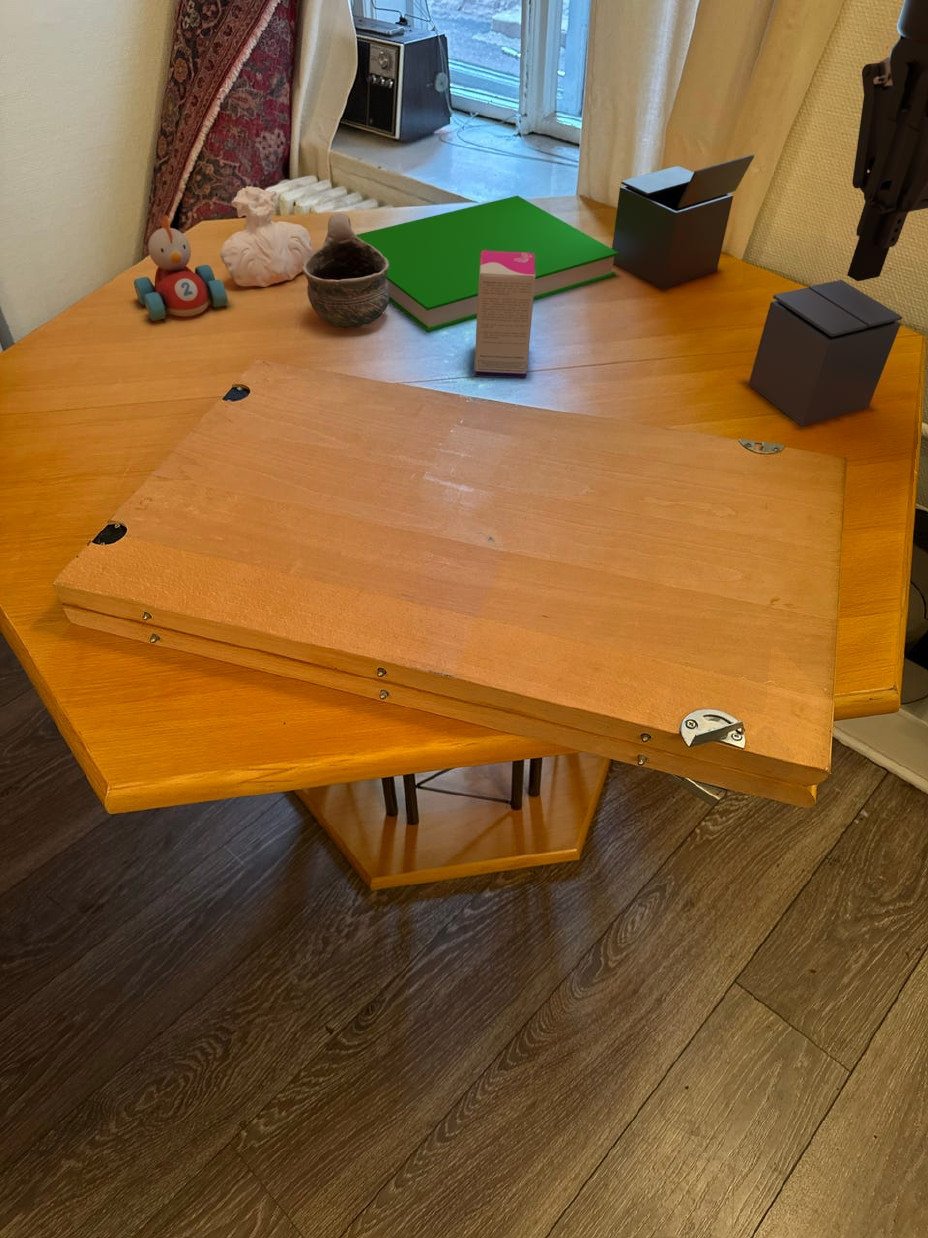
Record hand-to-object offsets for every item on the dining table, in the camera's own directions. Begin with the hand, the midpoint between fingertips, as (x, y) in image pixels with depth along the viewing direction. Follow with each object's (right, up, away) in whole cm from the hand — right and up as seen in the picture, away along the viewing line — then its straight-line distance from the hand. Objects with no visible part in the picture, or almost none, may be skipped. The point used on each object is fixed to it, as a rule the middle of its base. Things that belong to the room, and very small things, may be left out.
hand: (863, 275), depth 86 cm
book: (-37, +12, +29) cm, 49 cm away
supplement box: (-34, -5, +13) cm, 37 cm away
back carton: (-12, +13, +31) cm, 35 cm away
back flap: (-9, +18, +19) cm, 28 cm away
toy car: (-72, +5, +22) cm, 76 cm away
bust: (-63, +10, +27) cm, 70 cm away
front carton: (-2, -9, +9) cm, 13 cm away
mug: (-52, +3, +20) cm, 56 cm away
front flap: (0, -2, +2) cm, 3 cm away
